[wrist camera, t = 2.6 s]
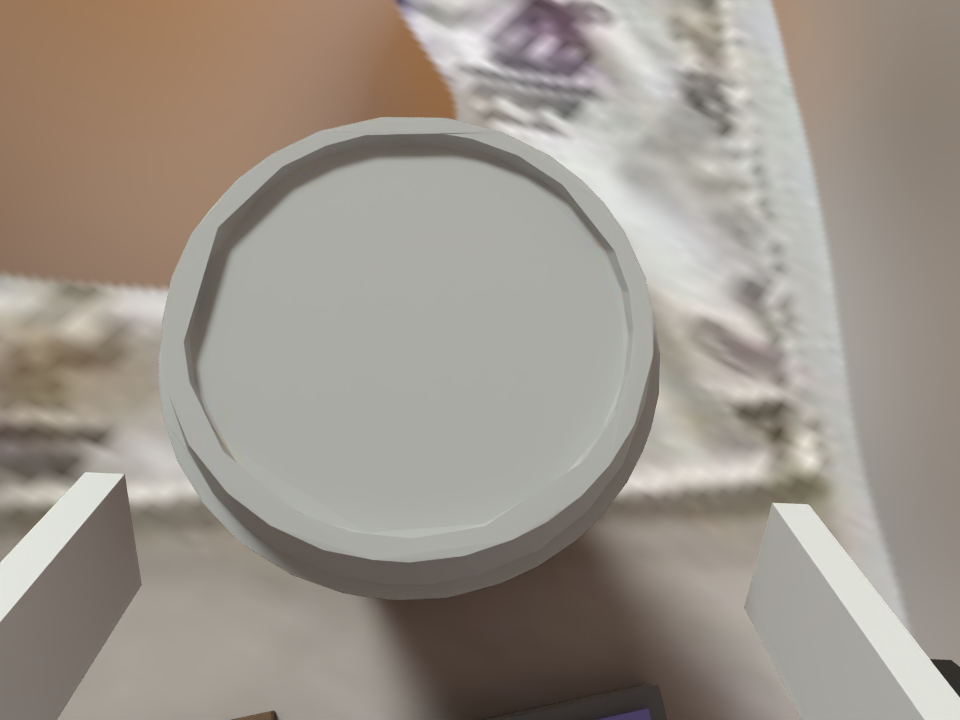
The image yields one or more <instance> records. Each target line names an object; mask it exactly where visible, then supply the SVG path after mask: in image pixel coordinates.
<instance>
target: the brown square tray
mask: <svg viewBox="0 0 960 720" xmlns="http://www.w3.org/2000/svg"><path fill="white" fill-rule="evenodd" d="M232 720H275V711H270V712H265V713H261V714H256V715H251V716H246V717H241V718H237V719H232Z"/></svg>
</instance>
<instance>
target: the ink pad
mask: <svg viewBox="0 0 960 720" xmlns="http://www.w3.org/2000/svg"><path fill="white" fill-rule="evenodd" d="M484 720H667V718H666V714H665V710H664V706H663V702H662V698H661V695H660V691H659V687H658V685H653V684H649V683H648V684H644V685H639V686H635V687H630V688H625V689H621V690H616V691H612V692H607V693H603V694H598V695H593V696H589V697H584V698H580V699H575V700H571V701H566V702H561V703H557V704H552V705H548V706H543V707H539V708H534V709H529V710H525V711H520V712H516V713H511V714H506V715H502V716H497V717H493V718H488V719H484Z"/></svg>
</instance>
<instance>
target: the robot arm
mask: <svg viewBox="0 0 960 720" xmlns="http://www.w3.org/2000/svg"><path fill="white" fill-rule="evenodd" d="M141 585H142V584H141V578H140V571H139V565H138V558H137V552H136V545H135V539H134V532H133V526H132V519H131V513H130V506H129V500H128V493H127V487H126V480H125V474H110V473H88V472H85V473H84V474H83V475H82V476H81V477H80V478H79V480H78V481H77V482H76V483H75V484H74V485H73V486H72V487H71V488H70V489H69V490H68V491H67V492H66V493H65V494H64V495H63V496H62V498H61V499H60V500H59V501H58V502H57V503H56V504H55V505H54V506H53V507H52V508H51V509H50V510H49V511H48V512H47V513H46V515H45V516H44V517H43V518H42V519H41V520H40V521H39V522H38V523H37V524H36V525H35V526H34V527H33V528H32V529H31V530H30V532H29V533H28V534H27V535H26V536H25V537H24V538H23V539H22V540H21V541H20V542H19V543H18V544H17V545H16V546H15V547H14V549H13V550H12V551H11V552H10V553H9V554H8V555H7V556H6V557H5V558H4V559H3V560H2V561H1V562H0V720H57V719H58V717H59V715H60V714H61V712H62V711H63V709H64V707H65V706H66V704H67V703H68V701H69V699H70V698H71V696H72V695H73V693H74V691H75V690H76V688H77V687H78V685H79V684H80V682H81V680H82V679H83V677H84V676H85V674H86V672H87V671H88V669H89V668H90V666H91V664H92V663H93V661H94V660H95V658H96V656H97V655H98V653H99V652H100V650H101V649H102V647H103V645H104V644H105V642H106V641H107V639H108V637H109V636H110V634H111V633H112V631H113V629H114V628H115V626H116V625H117V623H118V621H119V620H120V618H121V617H122V615H123V613H124V612H125V610H126V609H127V607H128V606H129V604H130V602H131V601H132V599H133V598H134V596H135V594H136V593H137V591H138V590H139V588H140V586H141ZM744 608H745V610H746V612H747V614H748V616H749V618H750V620H751V622H752V624H753V626H754V628H755V630H756V632H757V633H758V635H759V637H760V639H761V641H762V643H763V645H764V647H765V649H766V651H767V653H768V655H769V657H770V659H771V661H772V663H773V665H774V667H775V668H776V670H777V672H778V674H779V676H780V678H781V680H782V682H783V684H784V686H785V688H786V690H787V692H788V694H789V696H790V698H791V700H792V702H793V703H794V705H795V707H796V709H797V711H798V713H799V715H800V717H801V719H802V720H960V667H959V666H958V665H957V664H955V663H954V662H953V661H951V660H935V659H933V660H932V659H929V658H928V657H927V655H926V654H925V653H924V651H923V650H922V649H921V648H920V646H919V645H918V644H917V643H916V641H915V640H914V639H913V637H912V636H911V635H910V634H909V632H908V631H907V630H906V628H905V627H904V626H903V625H902V623H901V622H900V621H899V619H898V618H897V617H896V616H895V614H894V613H893V612H892V611H891V609H890V608H889V607H888V605H887V604H886V603H885V602H884V600H883V599H882V598H881V596H880V595H879V594H878V593H877V591H876V590H875V589H874V588H873V586H872V585H871V584H870V582H869V581H868V580H867V579H866V577H865V576H864V575H863V574H862V572H861V571H860V570H859V568H858V567H857V566H856V565H855V563H854V562H853V561H852V559H851V558H850V557H849V556H848V554H847V553H846V552H845V551H844V549H843V548H842V547H841V545H840V544H839V543H838V542H837V540H836V539H835V538H834V536H833V535H832V534H831V533H830V531H829V530H828V529H827V528H826V526H825V525H824V524H823V522H822V521H821V520H820V519H819V517H818V516H817V515H816V513H815V512H814V511H813V510H812V508H811V507H810V506H809V505H807V504H785V503H772V506H771V509H770V513H769V517H768V521H767V524H766V528H765V532H764V536H763V539H762V543H761V547H760V551H759V554H758V558H757V562H756V566H755V569H754V573H753V577H752V581H751V584H750V588H749V592H748V595H747V599H746V603H745V607H744Z"/></svg>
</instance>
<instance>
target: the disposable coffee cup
mask: <svg viewBox="0 0 960 720" xmlns="http://www.w3.org/2000/svg"><path fill="white" fill-rule="evenodd" d="M659 366H660V351H659V344H658V338H657V331H656V324H655V318H654V314H653V311H652V309H651V304H650V299H649V294H648V289H647V283H646V278H645V275H644V273H643V271H642V269H641V267H640V264H639V262H638V260H637V258H636V256H635V253H634V251H633V249H632V247H631V245H630V242H629V240H628V238H627V236H626V234H625V232H624V230H623V229H622V228H621V226H620V225H619V223H618V222H617V221H616V219H615V218H614V216H613V215H612V213H611V212H610V211H609V209H608V208H607V206H606V205H605V204H604V202H603V201H602V200H601V199H600V198H599V197H598V196H597V195H596V194H595V193H594V192H593V191H592V190H591V189H590V188H589V187H588V186H587V185H586V184H585V183H584V182H583V181H582V180H581V179H579V178H578V177H577V176H576V175H574V174H573V173H572V172H570V171H569V170H568V169H567V168H565V167H564V166H563V165H561V164H560V163H559V162H557V161H556V160H555V159H554V158H552V157H551V156H550V155H548V154H546V153H544V152H542V151H540V150H537V149H535V148H533V147H531V146H529V145H527V144H525V143H523V142H521V141H519V140H517V139H515V138H513V137H511V136H509V135H507V134H505V133H503V132H500V131H496V130H492V129H488V128H484V127H480V126H476V125H472V124H468V123H464V122H460V121H456V120H451V119H448V118H410V117H408V118H407V117H406V118H405V117H380V118H376V119H371V120H367V121H362V122H358V123H353V124H349V125H344V126H340V127H336V128H331V129H327V130H322V131H319V132H317V133H315V134H313V135H310V136H308V137H306V138H304V139H302V140H300V141H298V142H296V143H294V144H292V145H290V146H287V147H285V148H283V149H281V150H279V151H277V152H275V153H273V154H271V155H270V156H269V157H267V158H266V159H264V160H263V161H262V162H260V163H259V164H258V165H256V166H255V167H253V168H252V169H251V170H249V171H248V172H247V173H246V174H244V175H243V176H241V177H240V178H238V179H237V180H236V181H235V183H234V184H233V185H232V186H231V187H230V188H229V189H228V191H226V193H225V194H224V195H223V196H222V197H221V198H220V199H219V200H218V201H217V203H216V204H215V205H214V206H213V207H212V208H211V209H210V211H209V212H208V213H207V215H206V216H205V217H204V219H203V220H202V221H201V222H200V224H199V225H198V226H197V227H196V229H195V230H194V231H193V232H192V234H191V236H190V238H189V240H188V242H187V245H186V247H185V249H184V251H183V253H182V256H181V258H180V260H179V262H178V265H177V267H176V269H175V271H174V273H173V275H172V278H171V282H170V287H169V292H168V297H167V301H166V306H165V311H164V316H163V320H162V341H161V347H160V353H159V392H160V398H161V405H162V411H163V417H164V422H165V425H166V428H167V431H168V434H169V437H170V440H171V443H172V446H173V449H174V452H175V455H176V458H177V461H178V463H179V465H180V466H181V468H182V469H183V471H184V473H185V474H186V476H187V478H188V479H189V481H190V482H191V484H192V486H193V487H194V489H195V491H196V492H197V494H198V495H199V497H200V499H201V500H202V502H203V504H204V505H205V506H206V507H207V508H208V509H209V510H210V511H211V512H212V513H213V514H214V515H215V516H216V517H217V518H218V519H219V520H220V522H221V523H222V524H223V525H224V526H225V527H226V528H227V529H228V530H229V531H230V532H231V533H232V534H233V535H234V536H235V537H236V538H237V539H238V541H239V542H240V543H242V544H244V545H245V546H247V547H248V548H250V549H251V550H253V551H254V552H256V553H258V554H259V555H261V556H262V557H264V558H265V559H267V560H269V561H270V562H272V563H274V564H275V565H277V566H278V567H280V568H282V569H283V570H285V571H286V572H288V573H290V574H291V575H294V576H296V577H299V578H302V579H305V580H308V581H310V582H313V583H316V584H319V585H322V586H325V587H327V588H330V589H333V590H336V591H339V592H342V593H346V594H352V595H357V596H362V597H370V598H379V599H389V600H408V599H435V598H449V597H453V596H456V595H460V594H464V593H467V592H471V591H475V590H478V589H482V588H486V587H490V586H493V585H497V584H501V583H503V582H505V581H508V580H510V579H512V578H514V577H516V576H518V575H520V574H522V573H525V572H527V571H529V570H531V569H533V568H535V567H537V566H539V565H541V564H542V563H544V562H545V561H547V560H548V559H549V558H551V557H552V556H554V555H555V554H557V553H558V552H560V551H561V550H563V549H564V548H566V547H567V546H569V545H570V544H571V543H573V542H574V541H576V540H577V539H578V538H579V537H580V536H581V535H582V534H583V533H584V532H585V531H586V530H587V529H588V528H589V527H590V526H591V525H592V524H593V523H594V522H595V521H596V520H597V519H598V518H599V517H600V516H601V515H602V514H603V513H604V512H605V511H606V509H607V508H608V507H609V505H610V504H611V503H612V501H613V500H614V499H615V497H616V496H617V495H618V493H619V492H620V491H621V490H622V488H623V487H624V486H625V484H626V483H627V481H628V479H629V477H630V475H631V473H632V471H633V469H634V467H635V465H636V463H637V461H638V459H639V457H640V455H641V454H642V452H643V449H644V446H645V444H646V441H647V438H648V435H649V432H650V430H651V426H652V422H653V417H654V413H655V408H656V404H657V399H658V395H659Z"/></svg>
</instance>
